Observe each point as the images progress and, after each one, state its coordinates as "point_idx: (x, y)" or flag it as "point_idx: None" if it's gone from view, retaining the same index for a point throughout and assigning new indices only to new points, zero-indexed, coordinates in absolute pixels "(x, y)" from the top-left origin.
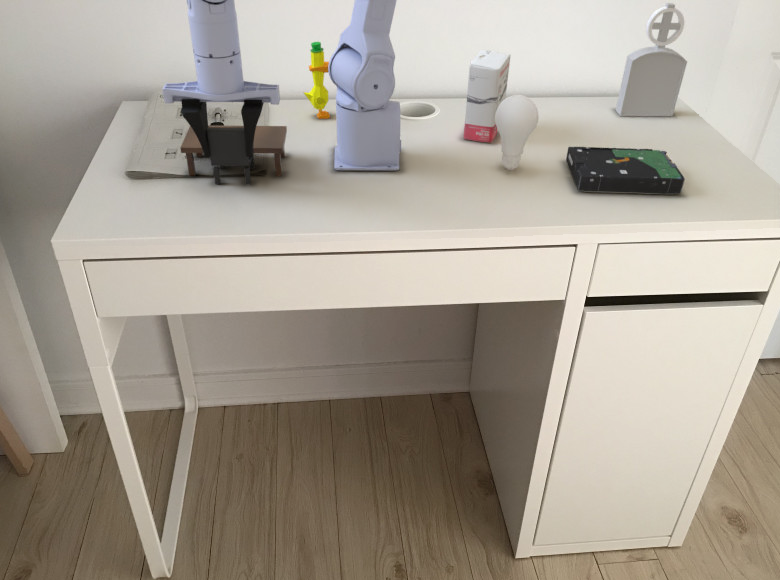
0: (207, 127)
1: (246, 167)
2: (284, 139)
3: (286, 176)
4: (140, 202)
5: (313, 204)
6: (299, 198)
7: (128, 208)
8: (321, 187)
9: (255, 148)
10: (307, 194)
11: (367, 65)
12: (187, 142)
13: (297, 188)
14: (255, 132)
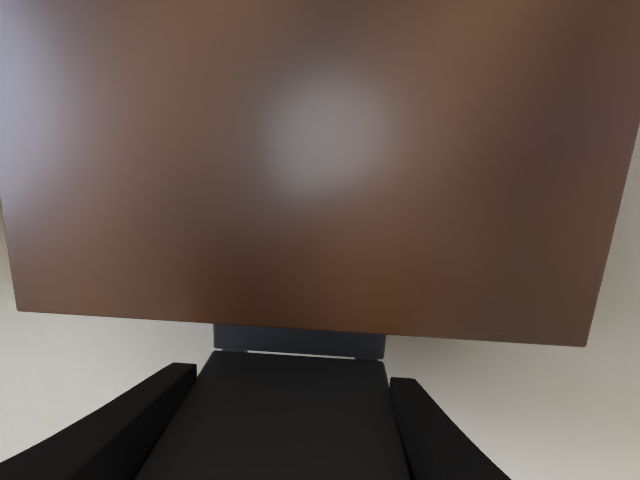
0: (108, 477)
1: (366, 359)
2: (615, 207)
3: None
4: (27, 426)
5: (579, 476)
6: (538, 437)
7: (6, 457)
8: (632, 368)
9: (428, 335)
10: (570, 413)
11: None
12: (33, 244)
13: (540, 369)
14: (434, 95)
